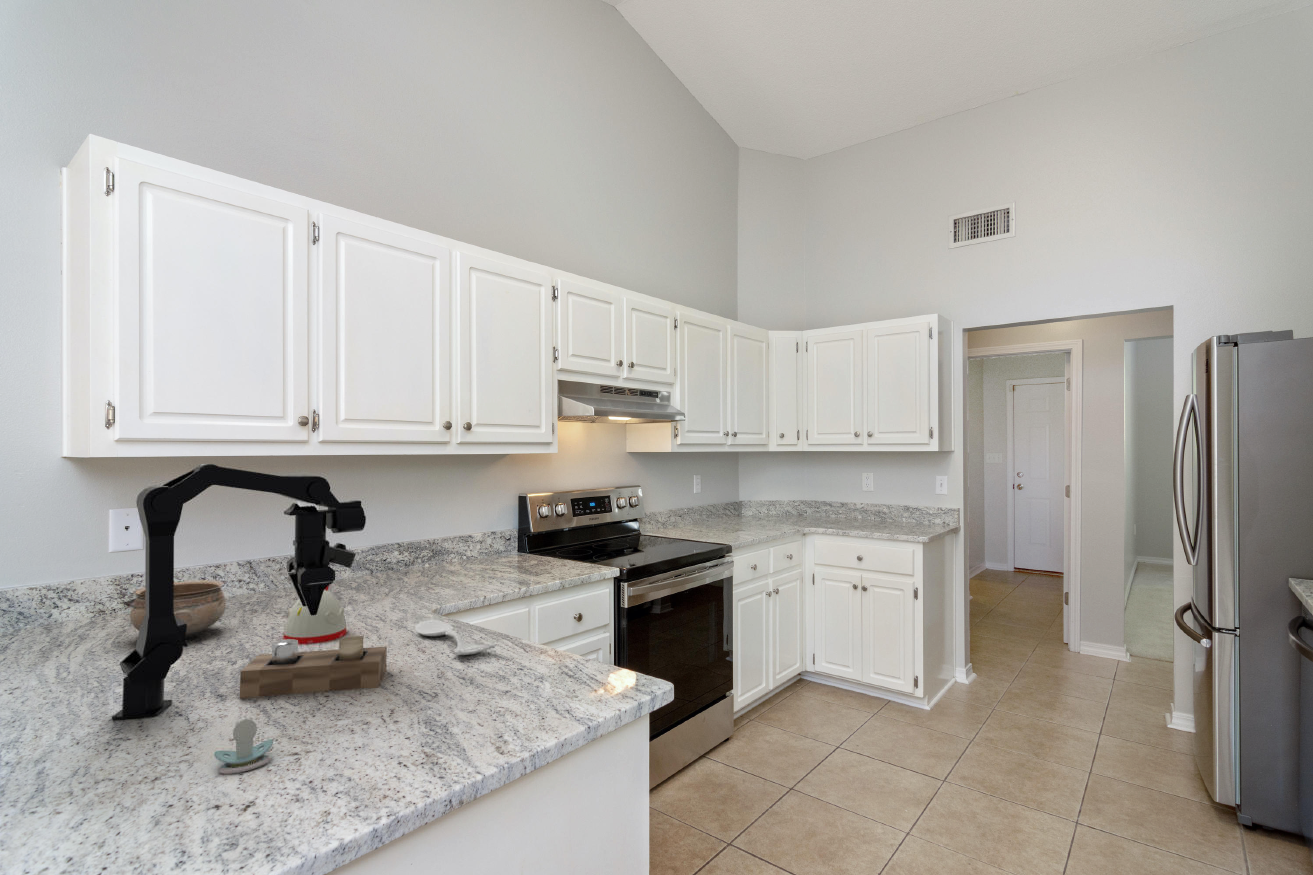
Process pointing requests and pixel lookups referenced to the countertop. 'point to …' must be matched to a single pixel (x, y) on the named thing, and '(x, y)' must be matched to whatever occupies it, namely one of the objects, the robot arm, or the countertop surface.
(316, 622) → the kitchen timer
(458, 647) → the spoon
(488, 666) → the countertop surface
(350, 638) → the birch peg
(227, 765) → the pacifier
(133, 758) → the countertop surface
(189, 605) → the cooking pot
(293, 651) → the steel peg
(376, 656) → the walnut block
